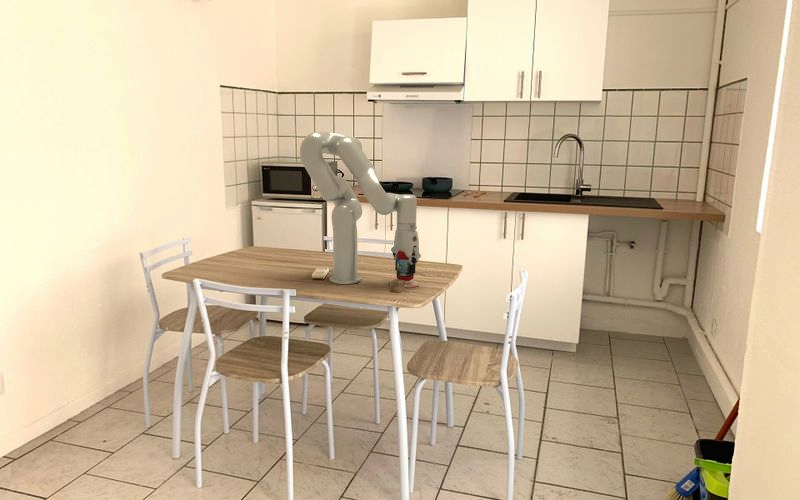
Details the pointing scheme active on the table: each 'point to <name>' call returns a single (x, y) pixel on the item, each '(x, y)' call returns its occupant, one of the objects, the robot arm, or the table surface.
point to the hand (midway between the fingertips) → (405, 271)
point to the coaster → (410, 284)
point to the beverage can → (403, 267)
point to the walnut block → (396, 285)
